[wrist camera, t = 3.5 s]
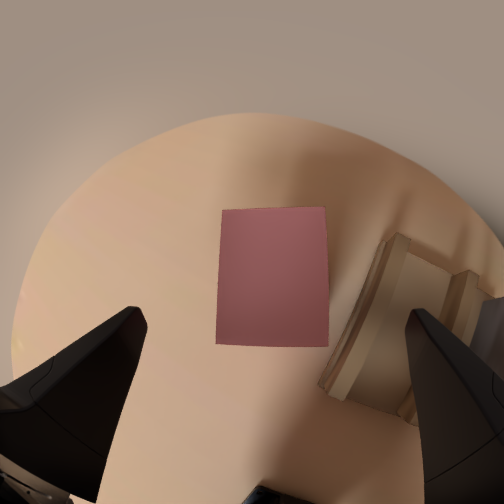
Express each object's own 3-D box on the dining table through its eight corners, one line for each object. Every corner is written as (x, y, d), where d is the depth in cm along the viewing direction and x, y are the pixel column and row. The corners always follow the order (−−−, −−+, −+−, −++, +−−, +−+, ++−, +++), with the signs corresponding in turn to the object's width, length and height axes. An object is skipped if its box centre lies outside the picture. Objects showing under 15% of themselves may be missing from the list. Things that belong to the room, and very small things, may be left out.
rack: (444, 427, 13) (492, 457, 7) (317, 383, 16) (327, 416, 10) (493, 302, 15) (550, 289, 8) (379, 244, 18) (414, 203, 11)
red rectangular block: (312, 333, 17) (328, 346, 8) (260, 333, 18) (215, 343, 8) (312, 266, 18) (324, 206, 9) (261, 267, 19) (222, 210, 9)
